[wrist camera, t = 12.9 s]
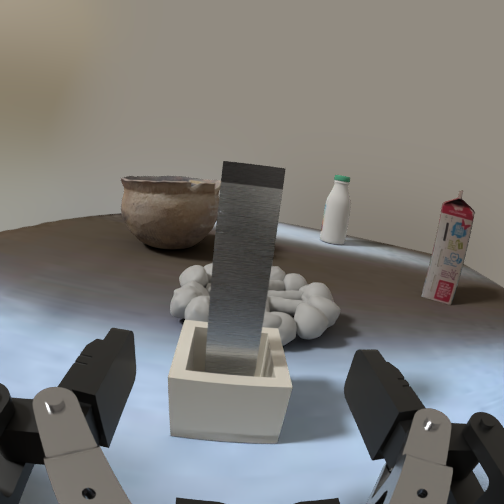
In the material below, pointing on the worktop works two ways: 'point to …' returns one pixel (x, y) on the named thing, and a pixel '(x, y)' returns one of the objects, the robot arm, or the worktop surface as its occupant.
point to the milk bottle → (336, 212)
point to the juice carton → (449, 250)
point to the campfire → (277, 305)
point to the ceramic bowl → (170, 209)
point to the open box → (227, 392)
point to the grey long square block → (242, 265)
